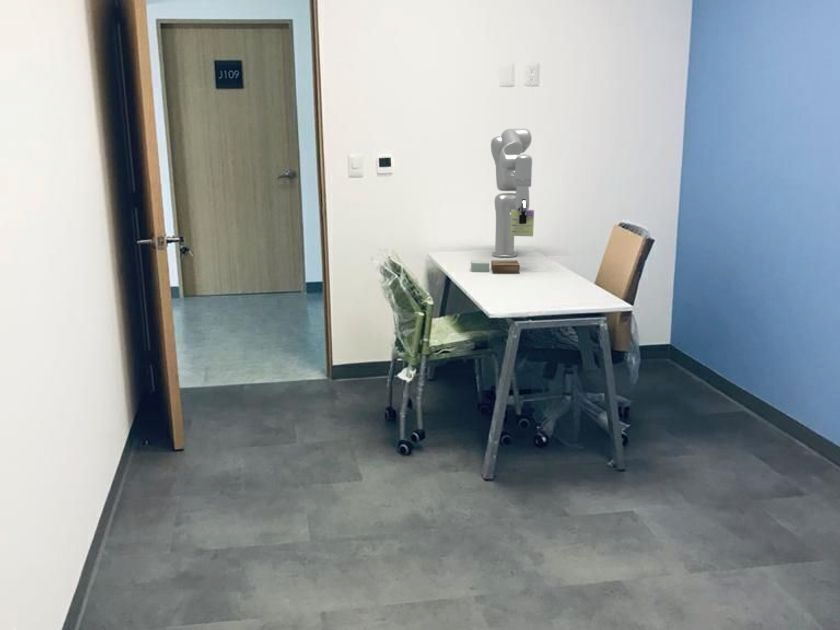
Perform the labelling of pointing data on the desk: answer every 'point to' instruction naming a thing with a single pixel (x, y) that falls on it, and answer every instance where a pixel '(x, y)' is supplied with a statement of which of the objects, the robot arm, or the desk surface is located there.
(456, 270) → the desk surface
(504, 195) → the robot arm
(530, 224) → the box
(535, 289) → the desk surface
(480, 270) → the green block
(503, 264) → the walnut base
